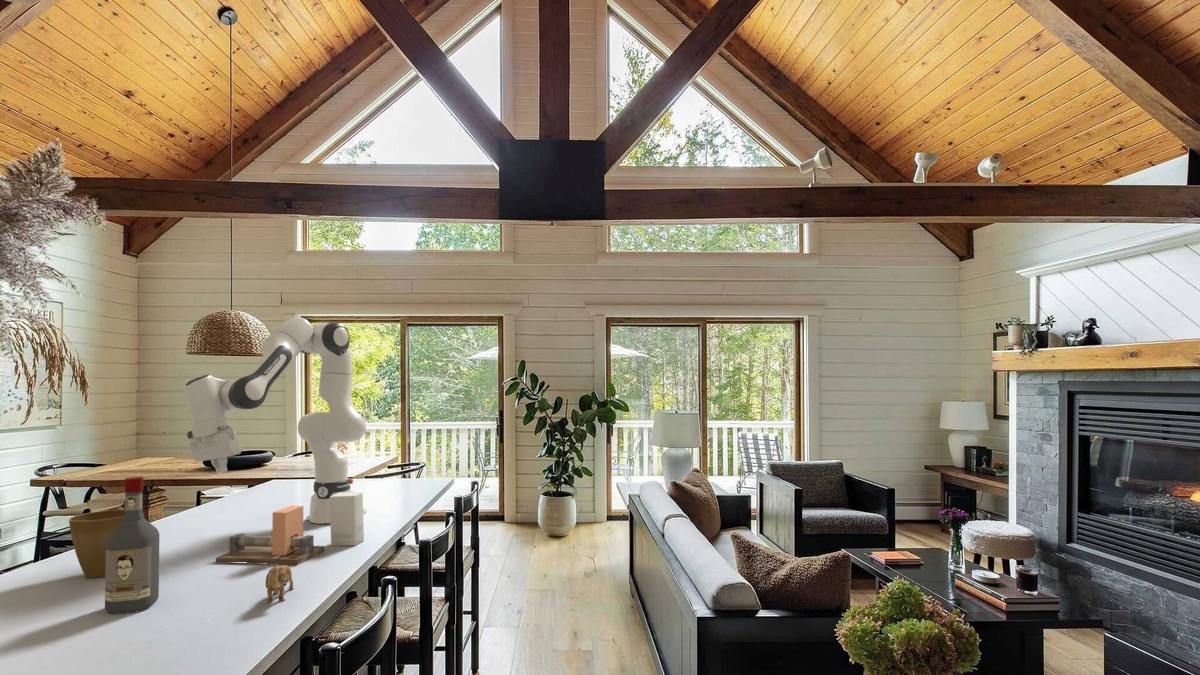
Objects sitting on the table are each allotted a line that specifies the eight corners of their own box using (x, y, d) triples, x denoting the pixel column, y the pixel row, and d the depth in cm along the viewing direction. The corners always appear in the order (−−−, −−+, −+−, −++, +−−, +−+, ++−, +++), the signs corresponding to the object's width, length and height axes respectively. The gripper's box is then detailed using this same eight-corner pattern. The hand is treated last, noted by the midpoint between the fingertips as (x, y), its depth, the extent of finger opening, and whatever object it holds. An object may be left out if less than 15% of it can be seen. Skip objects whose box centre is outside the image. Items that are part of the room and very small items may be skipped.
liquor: (117, 602, 160) (119, 476, 161) (161, 598, 162) (163, 473, 163) (100, 616, 151) (103, 482, 152) (147, 611, 153) (149, 480, 154)
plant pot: (142, 572, 182) (142, 513, 183) (73, 586, 171) (74, 523, 172) (128, 562, 192) (129, 506, 193) (63, 574, 182) (64, 515, 182)
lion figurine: (288, 606, 156) (288, 567, 156) (263, 609, 154) (263, 569, 155) (295, 586, 170) (295, 550, 170) (271, 588, 168) (272, 552, 168)
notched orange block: (290, 546, 200) (290, 505, 201) (303, 546, 200) (303, 506, 200) (272, 555, 191) (272, 512, 192) (285, 555, 191) (285, 512, 191)
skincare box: (364, 540, 213) (364, 491, 214) (354, 546, 206) (354, 495, 207) (339, 540, 214) (339, 491, 214) (328, 546, 207) (329, 495, 208)
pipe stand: (247, 549, 205) (247, 529, 205) (324, 551, 201) (324, 531, 202) (215, 562, 191) (216, 541, 191) (297, 565, 188) (297, 543, 188)
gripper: (240, 421, 201) (252, 466, 201) (202, 429, 211) (213, 471, 211) (220, 427, 195) (232, 472, 196) (182, 435, 205) (193, 478, 206)
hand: (222, 472), depth 203 cm, fingers closed
